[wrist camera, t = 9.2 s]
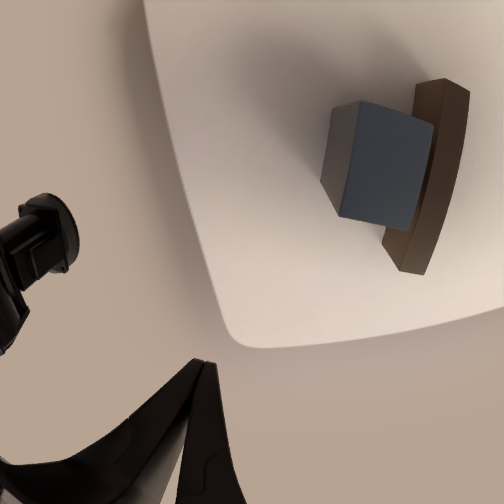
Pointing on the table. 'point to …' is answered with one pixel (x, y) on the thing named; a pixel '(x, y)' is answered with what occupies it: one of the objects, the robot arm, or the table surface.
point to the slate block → (375, 163)
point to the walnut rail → (432, 173)
